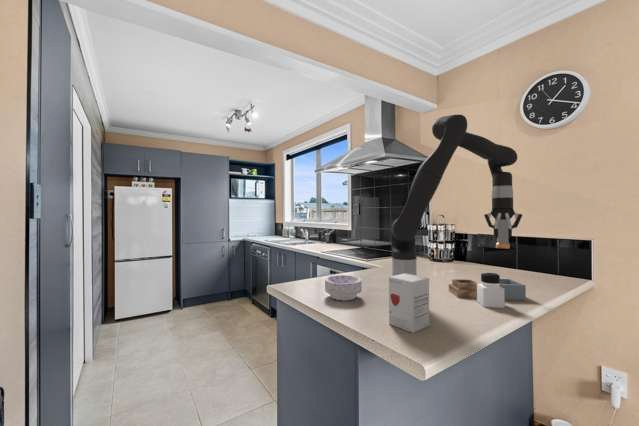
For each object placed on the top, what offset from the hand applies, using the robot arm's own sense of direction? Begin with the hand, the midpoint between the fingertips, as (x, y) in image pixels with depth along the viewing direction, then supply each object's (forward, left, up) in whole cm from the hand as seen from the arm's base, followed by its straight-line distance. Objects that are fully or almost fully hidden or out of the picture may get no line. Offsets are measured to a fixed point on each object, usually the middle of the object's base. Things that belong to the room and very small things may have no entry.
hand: (502, 237), depth 117 cm
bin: (0, 0, -24) cm, 24 cm away
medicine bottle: (-11, -13, -25) cm, 30 cm away
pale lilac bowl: (-67, -9, -25) cm, 72 cm away
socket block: (-15, +1, -24) cm, 29 cm away
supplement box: (-46, -36, -25) cm, 63 cm away
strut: (0, 0, -4) cm, 4 cm away
